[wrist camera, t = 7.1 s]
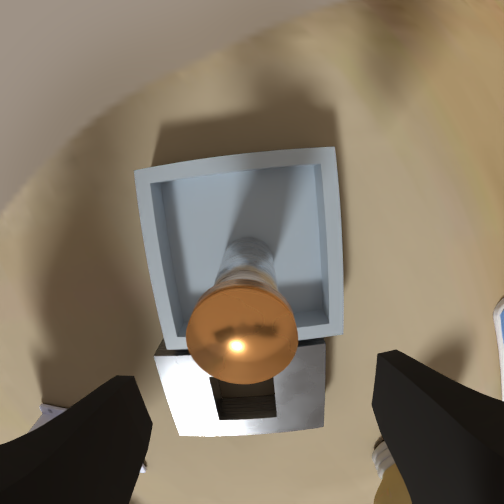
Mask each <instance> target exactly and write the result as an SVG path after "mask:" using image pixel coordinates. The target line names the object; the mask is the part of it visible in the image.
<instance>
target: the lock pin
mask: <svg viewBox="0 0 504 504" xmlns="http://www.w3.org/2000/svg"><path fill="white" fill-rule="evenodd" d="M186 343H187V347H188V350H189V353H190V355H191V357H192V358H193V360H194V361H195V362H196V364H197V365H198V366H199V367H200V368H201V369H202V370H204V371H205V372H206V373H208V374H209V375H211V376H213V377H215V378H217V379H219V380H222V381H225V382H229V383H234V384H253V383H258V382H262V381H265V380H268V379H270V378H272V377H274V376H276V375H278V374H279V373H280V372H282V371H283V370H284V369H285V368H286V367H287V366H288V365H289V364H290V362H291V361H292V359H293V358H294V356H295V353H296V351H297V347H298V331H297V327H296V322H295V318H294V314H293V311H292V308H291V306H290V304H289V303H288V301H287V300H286V298H285V297H284V296H283V295H282V294H281V293H280V292H278V286H277V279H276V273H275V267H274V261H273V255H272V252H271V250H270V249H269V247H268V246H267V245H266V244H265V243H264V242H263V241H261V240H259V239H256V238H253V237H243V238H239V239H237V240H235V241H233V242H232V243H231V244H230V245H229V246H228V247H227V248H226V250H225V252H224V255H223V258H222V261H221V264H220V267H219V270H218V273H217V276H216V279H215V283H214V286H213V287H211V288H210V289H208V290H207V291H206V292H205V293H204V294H203V295H202V296H201V297H200V298H199V300H198V301H197V303H196V305H195V307H194V309H193V312H192V314H191V317H190V319H189V322H188V325H187V329H186Z"/></svg>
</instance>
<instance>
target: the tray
mask: <svg viewBox="0 0 504 504" xmlns="http://www.w3.org/2000/svg"><path fill="white" fill-rule="evenodd" d="M134 176H135V184H136V192H137V200H138V208H139V215H140V221H141V228H142V234H143V240H144V246H145V252H146V257H147V263H148V268H149V273H150V279H151V283H152V288H153V293H154V298H155V302H156V307H157V311H158V316H159V320H160V324H161V328H162V332H163V336H164V340H165V344H166V348H167V350H174V349H188V347H187V343H186V329H187V325H188V322H189V319H190V317H191V314H192V312H193V309H194V307H195V305H196V303H197V301H198V300H199V298H200V297H201V296H202V295H203V294H204V293H205V292H206V291H207V290H208V289H210V288H211V287H213V286H214V283H215V279H216V276H217V273H218V270H219V267H220V264H221V261H222V258H223V255H224V252H225V250H226V248H227V247H228V246H229V245H230V244H231V243H232V242H233V241H235V240H237V239H239V238H243V237H253V238H256V239H259V240H261V241H263V242H264V243H265V244H266V245H267V246H268V247H269V249H270V250H271V252H272V255H273V261H274V267H275V273H276V279H277V286H278V292H280V293H281V294H282V295H283V296H284V297H285V298H286V300H287V301H288V303H289V304H290V306H291V308H292V311H293V314H294V318H295V322H296V327H297V331H298V340H306V339H313V338H321V337H328V336H335V335H342V334H343V312H344V295H343V250H342V228H341V211H340V197H339V184H338V173H337V163H336V153H335V147H317V148H300V149H286V150H274V151H263V152H253V153H244V154H235V155H227V156H219V157H211V158H204V159H197V160H191V161H184V162H178V163H172V164H166V165H160V166H155V167H149V168H144V169H139V170H134Z"/></svg>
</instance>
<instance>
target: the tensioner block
mask: <svg viewBox="0 0 504 504" xmlns="http://www.w3.org/2000/svg"><path fill="white" fill-rule="evenodd" d="M154 359H155V363H156V366H157V369H158V373H159V376H160V379H161V382H162V385H163V388H164V391H165V394H166V397H167V400H168V403H169V406H170V409H171V412H172V415H173V418H174V420H175V423H176V426H177V428H178V431H179V434H180V435H184V436H233V435H254V434H268V433H279V432H289V431H298V430H305V429H313V428H320V427H324V405H325V362H326V343H325V341H324V338H323V337H321V338H313V339H306V340H298V347H297V351H296V353H295V356H294V358H293V359H292V361H291V362H290V364H289V365H288V366H287V367H286V368H285V369H284V370H283V371H282V372H280V373H279V374H278V375H276V376H274V377H273V378H274V389H275V395H269V396H257V397H243V398H223V399H222V395H221V390H220V385H219V381H218V379H217V378H215V377H213V376H211V375H209V374H208V373H206V372H205V371H204V370H202V369H201V368H200V367H199V366H198V365H197V364H196V362H195V361H194V360H193V358H192V357H191V355H190V353H189V350H188V349H174V350H167V348H166V344H165V340H164V338H163V340H162V342H161V344H160V345H159V347H158V349H157V351H156V353H155V355H154Z"/></svg>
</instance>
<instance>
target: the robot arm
mask: <svg viewBox="0 0 504 504" xmlns="http://www.w3.org/2000/svg"><path fill="white" fill-rule="evenodd" d="M372 408H373V411H374V414H375V417H376V420H377V423H378V426H379V429H380V432H381V434H382V436H383V439H384V441H385V443H386V445H387V447H388V449H389V451H390V453H391V455H392V457H393V459H394V461H395V464H396V466H397V468H398V470H399V472H400V474H401V476H402V478H403V480H404V483H405V485H406V487H407V490H408V492H409V495H410V498H411V501H412V504H504V401H501V400H498V399H495V398H492V397H489V396H487V395H484V394H482V393H479V392H477V391H475V390H473V389H470V388H468V387H466V386H464V385H462V384H460V383H457V382H455V381H453V380H451V379H450V378H448V377H446V376H444V375H442V374H440V373H438V372H436V371H435V370H433V369H431V368H429V367H427V366H426V365H424V364H422V363H420V362H419V361H417V360H415V359H413V358H411V357H410V356H408V355H406V354H404V353H402V352H400V351H398V350H392V351H388V352H383V353H379V354H377V365H376V375H375V383H374V391H373V399H372ZM40 410H41V411H42V413H43V414H42V415H41V416H40V417H39V419H38V420H37V421H36V423H35V424H34V425H33V426H32V428H31V429H30V430H29V432H28V433H27V434H25V435H23V436H21V437H19V438H17V439H14V440H12V441H10V442H7V443H4V444H2V445H0V504H129V501H130V498H131V496H132V493H133V490H134V487H135V484H136V481H137V479H138V476H139V473H145V472H146V467H145V466H144V464H143V462H144V459H145V456H146V453H147V450H148V446H149V441H150V436H151V430H152V425H153V423H152V421H151V418H150V416H149V414H148V411H147V409H146V406H145V404H144V401H143V399H142V396H141V394H140V391H139V388H138V386H137V383H136V380H135V378H134V376H115V377H114V378H112V379H110V380H109V381H107V382H106V383H104V384H103V385H101V386H100V387H98V388H97V389H96V390H94V391H93V392H91V393H90V394H89V395H87V396H86V397H84V398H83V399H81V400H80V401H79V402H77V403H76V404H74V405H73V406H71V407H70V408H69V409H66V408H60V407H55V406H51V405H46V404H41V405H40Z"/></svg>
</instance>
